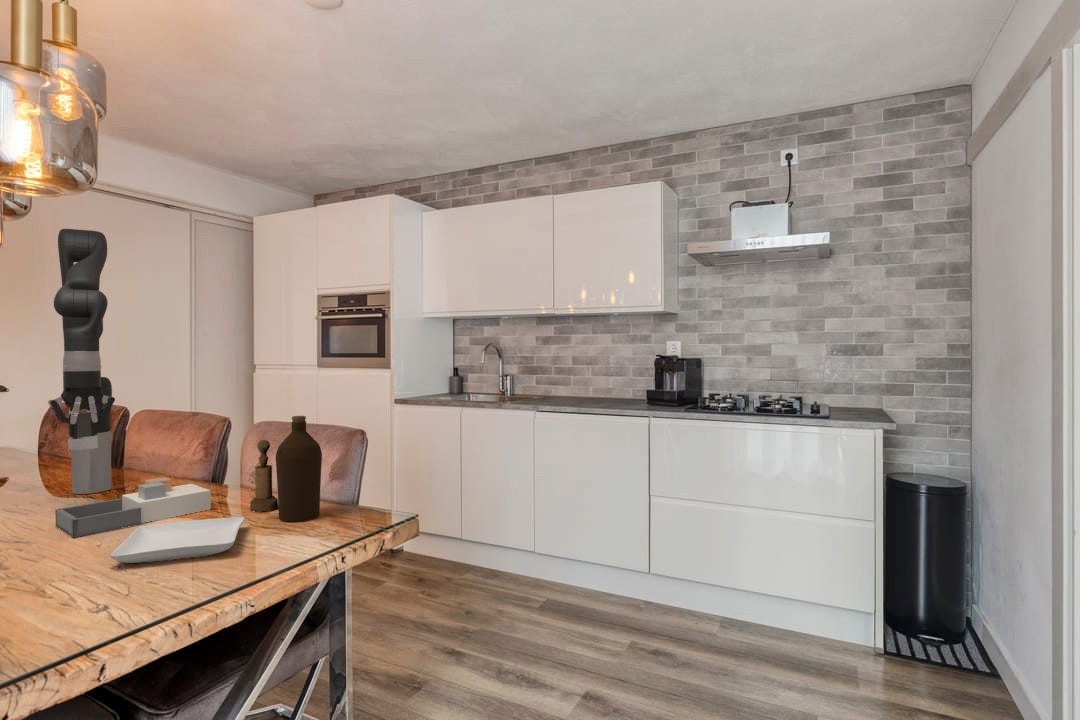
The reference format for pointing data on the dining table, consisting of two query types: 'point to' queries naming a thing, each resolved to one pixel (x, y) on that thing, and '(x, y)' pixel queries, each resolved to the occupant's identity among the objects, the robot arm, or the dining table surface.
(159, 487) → the pale grey box
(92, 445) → the scraper
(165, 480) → the tan block
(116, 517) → the box
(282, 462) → the olive oil
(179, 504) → the long rectangular box
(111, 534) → the dining table surface
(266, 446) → the brown chess piece
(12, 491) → the dining table surface
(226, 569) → the dining table surface
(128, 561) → the salad plate
